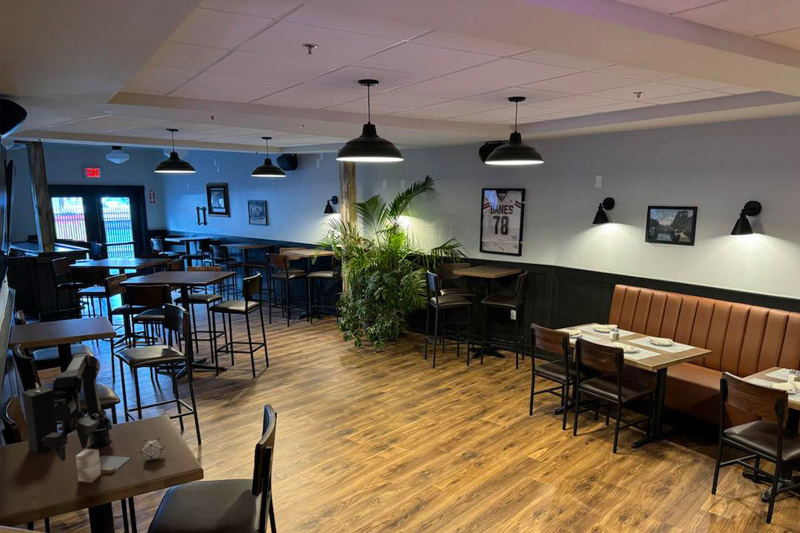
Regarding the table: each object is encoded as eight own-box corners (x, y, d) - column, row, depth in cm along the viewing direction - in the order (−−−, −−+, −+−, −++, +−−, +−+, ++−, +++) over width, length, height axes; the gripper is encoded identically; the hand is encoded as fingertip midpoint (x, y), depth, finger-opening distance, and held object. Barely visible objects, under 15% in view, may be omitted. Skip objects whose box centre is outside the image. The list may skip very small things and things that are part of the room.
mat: (86, 468, 189) (86, 467, 189) (103, 456, 198) (102, 455, 198) (115, 471, 188) (115, 470, 188) (131, 458, 197) (130, 457, 197)
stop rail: (82, 471, 187) (81, 468, 187) (86, 468, 189) (85, 465, 189) (111, 474, 186) (111, 470, 186) (115, 471, 188) (114, 467, 188)
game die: (155, 470, 195) (151, 459, 188) (136, 460, 196) (132, 449, 189) (171, 450, 201) (167, 438, 195) (153, 441, 203) (149, 429, 196)
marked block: (78, 481, 181) (75, 455, 180) (88, 474, 186) (86, 448, 184) (91, 482, 180) (88, 456, 179) (101, 474, 185) (98, 449, 184)
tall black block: (38, 455, 199) (30, 388, 195) (29, 450, 203) (21, 384, 199) (59, 447, 205) (52, 382, 201) (50, 442, 210) (43, 378, 205)
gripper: (69, 422, 161) (73, 468, 163) (110, 401, 180) (114, 443, 181) (39, 421, 163) (43, 467, 164) (82, 400, 181) (86, 442, 183)
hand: (73, 454), depth 173 cm, fingers open, 9 cm apart
